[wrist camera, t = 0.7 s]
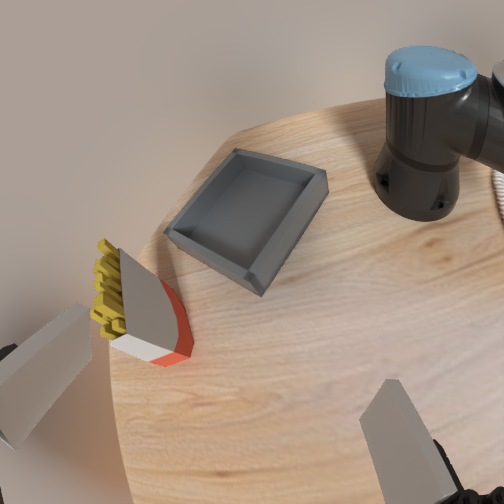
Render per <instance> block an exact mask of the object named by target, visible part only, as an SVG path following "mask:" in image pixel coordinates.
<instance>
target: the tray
mask: <svg viewBox="0 0 504 504" xmlns="http://www.w3.org/2000/svg"><path fill="white" fill-rule="evenodd" d="M328 193H329V189H328V181H327V174H326V170H323V169H319V168H316V167H312V166H308V165H305V164H301V163H297V162H293V161H289V160H285V159H281V158H277V157H273V156H269V155H264V154H260V153H255V152H251V151H246V150H241V149H236V148H235V149H234V150H233V151H232V153H231V154H230V155H229V156H228V157H227V158H226V159H225V160H224V161H223V162H222V163H221V164H220V166H219V167H218V168H217V169H216V170H215V171H214V172H213V173H212V175H211V176H210V177H209V178H208V179H207V180H206V181H205V182H204V184H203V185H202V186H201V187H200V188H199V189H198V191H197V192H196V193H195V194H194V195H193V196H192V198H191V199H190V200H189V201H188V202H187V204H186V205H185V206H184V207H183V208H182V210H181V211H180V212H179V213H178V214H177V216H176V217H175V218H174V219H173V221H172V222H171V223H170V224H169V226H168V227H167V228H166V229H165V231H164V232H163V233H164V234H165V235H166V236H167V237H168V238H169V239H170V240H171V241H172V242H173V243H174V244H175V245H176V246H177V247H178V248H179V249H181V250H182V251H184V252H186V253H187V254H189V255H191V256H192V257H194V258H196V259H197V260H199V261H201V262H202V263H204V264H206V265H207V266H209V267H211V268H212V269H214V270H216V271H217V272H219V273H221V274H222V275H224V276H226V277H227V278H229V279H231V280H233V281H234V282H236V283H238V284H239V285H241V286H243V287H245V288H246V289H248V290H250V291H252V292H253V293H255V294H257V295H259V296H260V297H262V295H263V294H264V292H265V291H266V289H267V288H268V286H269V285H270V283H271V282H272V280H273V279H274V277H275V276H276V274H277V273H278V271H279V270H280V268H281V267H282V265H283V264H284V262H285V261H286V259H287V258H288V256H289V255H290V253H291V252H292V250H293V248H294V247H295V245H296V244H297V242H298V241H299V239H300V238H301V236H302V235H303V233H304V231H305V230H306V228H307V227H308V225H309V224H310V222H311V220H312V219H313V217H314V216H315V214H316V212H317V211H318V209H319V208H320V206H321V204H322V203H323V201H324V200H325V198H326V196H327V195H328Z"/></svg>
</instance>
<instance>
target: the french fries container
mask: <svg viewBox="0 0 504 504" xmlns="http://www.w3.org/2000/svg"><path fill="white" fill-rule="evenodd" d="M98 250H99V251H101V252H102V253H103V254H104V255H105V256H103V257H101V259H98V260H96V262H95V267H94V268H93V273H94V274H96V280H95V281H94V287H95V290H96V291H98V292H99V293H100V294H99V295H98V296H96V297H94V307H93V308H92V309H90V317H91V318H92V319H94V320H96V321H97V322H99V323H100V324H102V325H104V326H105V327H102V328H100V336H102V337H105V338H108V339H111V340H112V342H111V344H110V346H112V347H114V348H116V349H119V350H121V351H123V352H125V353H128V354H130V355H132V356H135V357H137V358H139V359H142V360H144V361H147V362H150V363H153V364H157V365H160V366H164V367H166V366H169V365H172V364H175V363H177V362H180V361H183V360H185V359H188V358H190V357H191V353H192V349H193V345H194V341H193V337H192V334H191V330H190V326H189V323H188V319H187V315H186V311H185V309H184V307H183V305H182V304H181V302H180V300H179V298H178V297H177V295H176V293H175V291H174V290H173V289H172V288H171V287H170V286H168V285H167V284H166V283H164V282H163V281H162V280H160V279H159V278H158V277H156V276H155V275H154V274H152V273H151V272H150V271H148V270H147V269H146V268H144V267H143V266H142V265H141V264H139V263H138V262H137V261H136V260H134V259H133V258H132V257H130V256H129V255H128V254H127V253H125V252H124V251H123V250H122V249H121V248H118V249H116V248H115V247H114V246H112V245H111V244H110V243H109V242H108V241H107V240H106V239H103V240H101V241H99V242H98Z"/></svg>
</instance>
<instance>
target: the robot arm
mask: <svg viewBox="0 0 504 504" xmlns="http://www.w3.org/2000/svg"><path fill="white" fill-rule="evenodd" d="M385 77H386V78H385V82H384V87H385V90H386V142H385V144H384V146H383V148H382V150H381V152H380V155H379V157H378V159H377V161H376V163H375V167H374V186H375V189H376V192H377V194H378V196H379V197H380V199H381V200H382V201H383V202H384V204H385V205H387V206H388V207H389V208H390V209H391V210H393V211H394V212H396V213H397V214H399V215H401V216H403V217H405V218H408V219H411V220H415V221H422V222H429V221H436V220H439V219H442V218H444V217H445V216H447V215H448V214H449V213H450V212H451V211H452V210H453V208H454V206H455V204H456V201H457V199H458V195H459V188H460V186H459V168H458V161H459V158H460V155H463V156H465V157H468V158H470V159H473V160H475V161H477V162H480V163H482V164H484V165H486V166H488V167H491V168H493V169H495V170H497V171H499V172H501V173H503V174H504V60H503V61H500V62H497V63H495V64H494V66H493V72H492V78H491V79H490V78H488V77H485V76H483V75H480V74H477V70H476V68H475V65H474V63H473V62H472V61H471V60H470V59H468V58H467V57H465V56H463V55H461V54H457V53H455V52H454V51H451V50H448V49H444V48H439V47H432V46H410V47H404V48H400V49H398V50H395V51H394V52H392V53H391V54H390V55H389V56H388V58H387V60H386V64H385ZM92 358H93V354H92V341H91V319H90V308H89V307H87V306H84V305H82V304H80V303H75V304H74V305H72V306H71V307H70V308H68V309H67V310H65V311H64V312H63V313H61V314H60V315H59V316H57V317H56V318H55V319H53V320H52V321H51V322H49V323H48V324H47V325H45V326H44V327H43V328H41V329H40V330H39V331H37V332H36V333H35V334H34V335H32V336H31V337H30V338H29V339H27V340H26V341H25V342H23V343H22V344H21V345H20V346H17V345H16V344H12V345H9V346H6V347H3V348H2V349H1V350H0V439H1V440H2V441H3V442H5V443H6V444H7V445H8V446H9V447H10V448H12V449H13V450H14V451H16V450H17V449H18V447H19V446H20V445H21V444H22V442H23V441H24V439H25V438H26V437H27V436H28V434H29V433H30V431H32V429H33V428H34V427H35V425H36V424H37V423H38V422H39V420H40V419H41V418H42V417H43V415H44V414H45V413H46V412H47V410H48V409H49V408H50V406H52V404H53V403H54V402H55V401H56V399H57V398H58V397H59V396H60V395H61V394H62V392H63V391H64V390H65V389H66V388H67V386H68V385H69V384H70V383H71V382H72V381H73V379H74V378H75V377H76V376H77V375H78V374H79V373H80V371H81V370H82V369H83V368H84V367H85V366H86V364H87V363H88V362H89V361H90V360H91V359H92ZM359 421H360V424H361V427H362V429H363V432H364V435H365V438H366V441H367V444H368V448H369V451H370V454H371V457H372V460H373V463H374V466H375V470H376V473H377V476H378V479H379V483H380V486H381V489H382V493H383V496H384V500H385V503H386V504H504V487H501V486H500V487H497V488H496V489H495V490H493V491H492V492H491V493H490V494H487V495H479V494H478V493H477V492H476V491H474V490H471V489H467V490H464V488H463V487H462V485H461V483H460V481H459V479H458V477H457V475H456V473H455V471H454V469H453V467H452V465H451V464H450V461H449V459H448V457H446V456H447V455H446V453H445V451H444V449H443V447H442V446H441V445H440V444H439V443H438V442H437V441H436V440H435V439H433V440H432V438H431V436H430V434H429V432H428V430H427V429H426V427H425V425H424V423H423V421H422V419H421V418H420V416H419V414H418V412H417V411H416V409H415V407H414V405H413V403H412V402H411V400H410V398H409V397H408V395H407V393H406V391H405V390H404V388H403V386H402V385H401V383H400V381H399V380H392V379H386V380H385V382H384V383H383V385H382V386H381V388H380V390H379V391H378V393H377V394H376V396H375V397H374V399H373V400H372V402H371V403H370V405H369V406H368V408H367V409H366V411H365V412H364V413H363V415H362V416H361V418H360V419H359ZM0 504H4V502H3V497H2V493H1V488H0Z"/></svg>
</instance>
